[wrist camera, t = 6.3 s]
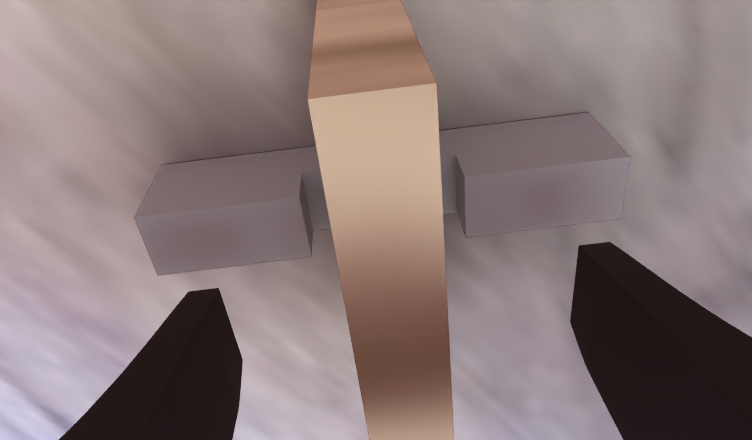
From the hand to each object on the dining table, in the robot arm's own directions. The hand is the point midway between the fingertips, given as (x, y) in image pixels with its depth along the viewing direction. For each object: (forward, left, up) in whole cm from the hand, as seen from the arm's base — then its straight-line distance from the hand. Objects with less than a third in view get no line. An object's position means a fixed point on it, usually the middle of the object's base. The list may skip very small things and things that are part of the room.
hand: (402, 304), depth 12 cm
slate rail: (0, 0, -6) cm, 6 cm away
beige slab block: (0, 0, -6) cm, 6 cm away
